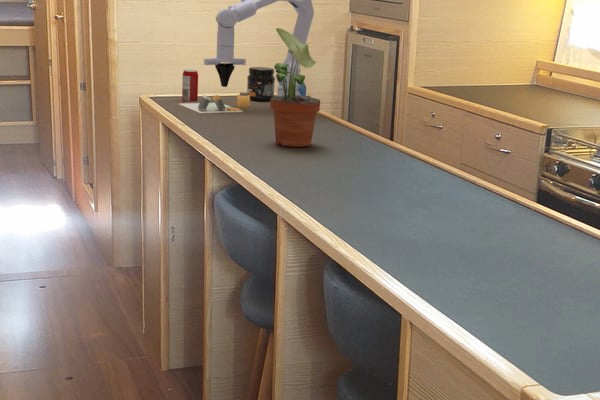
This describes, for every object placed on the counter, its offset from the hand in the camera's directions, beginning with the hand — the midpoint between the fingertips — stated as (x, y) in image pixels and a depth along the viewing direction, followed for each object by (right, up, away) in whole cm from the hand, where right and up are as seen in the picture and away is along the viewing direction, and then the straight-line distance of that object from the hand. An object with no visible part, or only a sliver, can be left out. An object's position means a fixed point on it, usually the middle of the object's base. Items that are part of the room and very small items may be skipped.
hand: (224, 86), depth 300 cm
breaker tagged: (-1, -8, +2) cm, 8 cm away
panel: (-5, -8, +6) cm, 11 cm away
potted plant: (+24, -23, -45) cm, 56 cm away
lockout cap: (+6, -7, +13) cm, 16 cm away
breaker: (-8, -8, -2) cm, 12 cm away
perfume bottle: (+23, -2, +36) cm, 43 cm away
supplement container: (+10, 0, +39) cm, 41 cm away
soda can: (-14, -3, +22) cm, 27 cm away
